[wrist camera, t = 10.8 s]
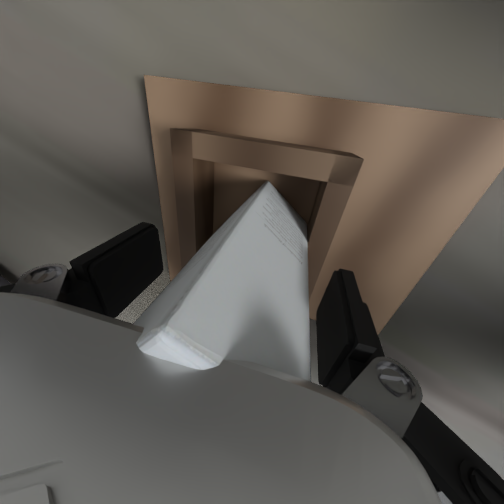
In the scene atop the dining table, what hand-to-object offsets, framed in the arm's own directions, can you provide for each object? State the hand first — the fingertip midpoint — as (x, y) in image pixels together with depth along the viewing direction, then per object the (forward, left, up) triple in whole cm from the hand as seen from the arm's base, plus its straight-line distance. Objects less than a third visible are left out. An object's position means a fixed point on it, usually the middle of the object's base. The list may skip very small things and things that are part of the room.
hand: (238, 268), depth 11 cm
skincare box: (0, 0, -6) cm, 6 cm away
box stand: (-2, 0, -7) cm, 7 cm away
